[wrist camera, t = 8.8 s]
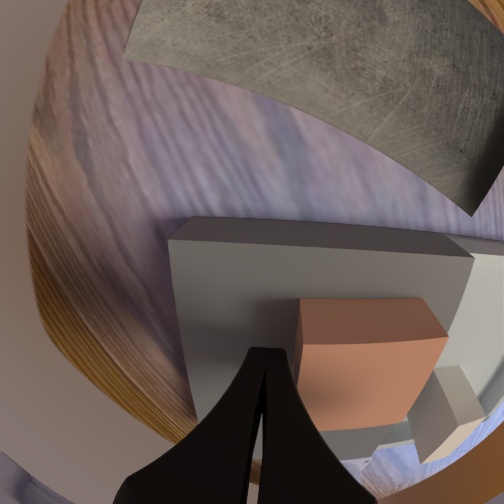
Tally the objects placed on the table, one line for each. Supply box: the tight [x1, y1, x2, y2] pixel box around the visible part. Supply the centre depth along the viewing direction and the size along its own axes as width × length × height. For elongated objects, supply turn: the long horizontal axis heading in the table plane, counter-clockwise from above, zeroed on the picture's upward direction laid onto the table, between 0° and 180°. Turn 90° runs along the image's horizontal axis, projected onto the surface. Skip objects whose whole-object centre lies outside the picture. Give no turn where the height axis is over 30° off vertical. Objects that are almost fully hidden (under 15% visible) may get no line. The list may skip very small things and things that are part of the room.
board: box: [168, 217, 475, 459], centre depth 13 cm, size 16×12×3 cm
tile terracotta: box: [292, 298, 449, 431], centre depth 9 cm, size 5×5×2 cm
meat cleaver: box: [122, 0, 504, 217], centre depth 7 cm, size 34×11×4 cm, turn 67°
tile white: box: [407, 365, 486, 464], centre depth 12 cm, size 5×5×2 cm
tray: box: [376, 233, 504, 450], centre depth 12 cm, size 16×13×2 cm
